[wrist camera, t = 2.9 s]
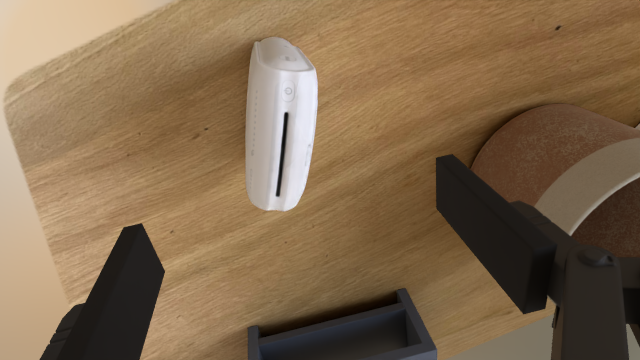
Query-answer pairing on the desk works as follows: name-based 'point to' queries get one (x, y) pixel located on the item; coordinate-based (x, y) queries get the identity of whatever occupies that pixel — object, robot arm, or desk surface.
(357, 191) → the desk surface
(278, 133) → the photo printer
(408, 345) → the shelf
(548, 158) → the planter
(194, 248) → the desk surface
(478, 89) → the desk surface
